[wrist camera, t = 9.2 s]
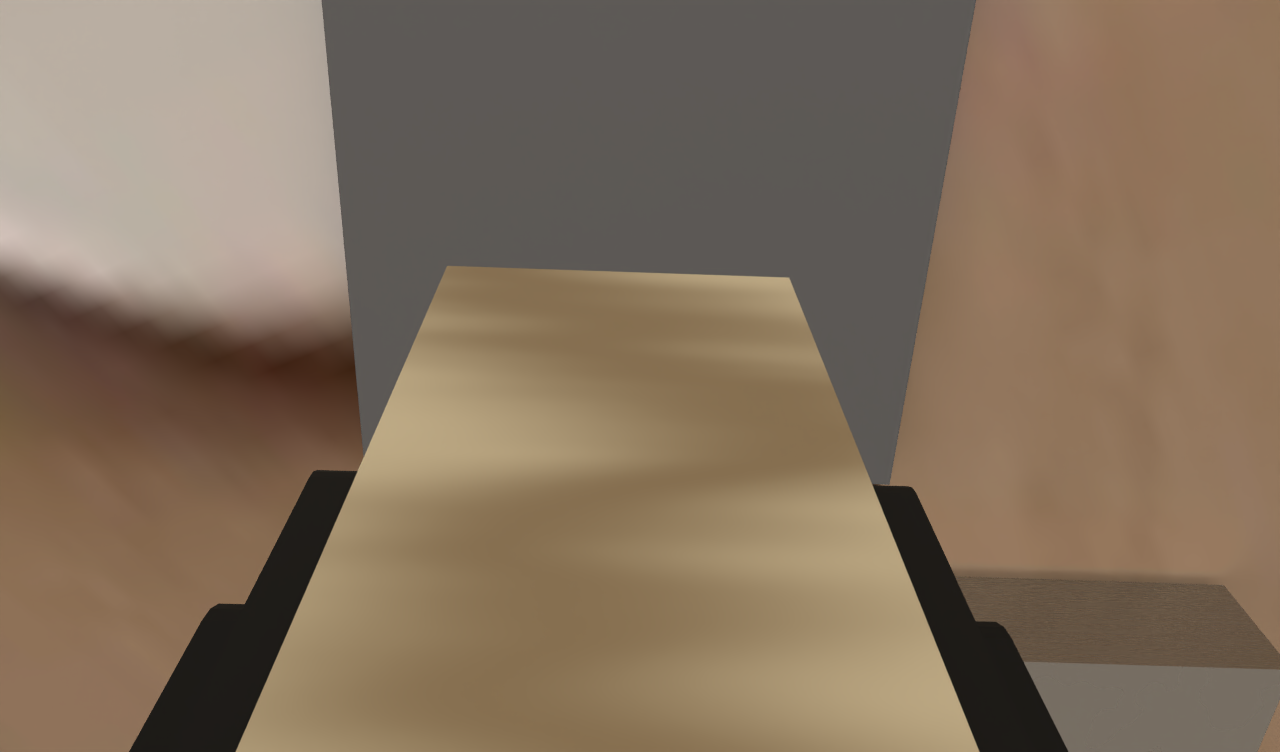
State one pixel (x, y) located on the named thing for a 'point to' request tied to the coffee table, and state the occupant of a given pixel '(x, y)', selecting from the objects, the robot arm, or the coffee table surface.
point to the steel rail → (1138, 661)
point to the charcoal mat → (650, 161)
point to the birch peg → (610, 541)
